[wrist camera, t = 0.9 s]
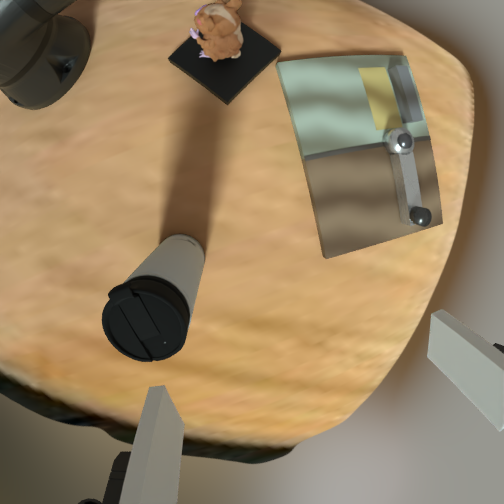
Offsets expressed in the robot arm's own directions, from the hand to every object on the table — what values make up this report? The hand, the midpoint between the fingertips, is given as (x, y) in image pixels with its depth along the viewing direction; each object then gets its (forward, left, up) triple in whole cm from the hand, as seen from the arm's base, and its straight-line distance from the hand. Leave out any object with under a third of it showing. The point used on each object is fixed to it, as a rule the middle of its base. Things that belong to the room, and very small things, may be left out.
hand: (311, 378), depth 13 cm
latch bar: (-5, +21, -25) cm, 33 cm away
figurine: (-25, +2, -27) cm, 37 cm away
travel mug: (-1, -10, -27) cm, 29 cm away
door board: (-9, +18, -27) cm, 34 cm away
